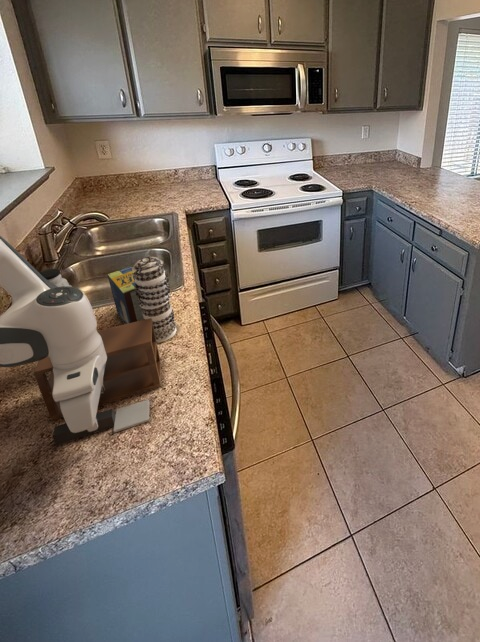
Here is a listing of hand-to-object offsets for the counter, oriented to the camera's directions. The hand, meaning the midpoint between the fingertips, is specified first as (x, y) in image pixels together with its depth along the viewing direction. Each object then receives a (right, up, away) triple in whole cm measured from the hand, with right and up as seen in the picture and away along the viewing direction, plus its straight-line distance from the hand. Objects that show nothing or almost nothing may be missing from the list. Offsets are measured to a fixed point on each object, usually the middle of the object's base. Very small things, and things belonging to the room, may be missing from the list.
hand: (97, 410), depth 78 cm
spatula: (0, -5, +1) cm, 5 cm away
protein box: (-10, +8, +38) cm, 40 cm away
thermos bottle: (-19, +2, +20) cm, 28 cm away
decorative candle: (0, +6, +31) cm, 32 cm away
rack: (-4, -1, +12) cm, 12 cm away
